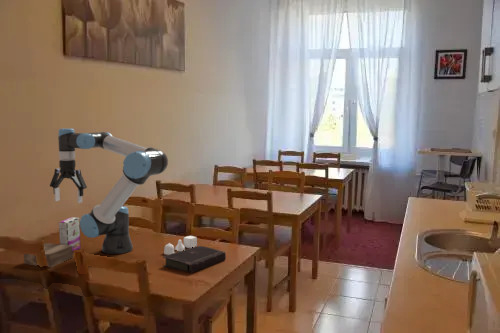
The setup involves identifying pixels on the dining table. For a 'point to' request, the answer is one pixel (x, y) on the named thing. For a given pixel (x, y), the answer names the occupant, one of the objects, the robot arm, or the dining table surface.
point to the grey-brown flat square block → (52, 254)
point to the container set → (181, 245)
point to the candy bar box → (70, 233)
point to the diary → (194, 259)
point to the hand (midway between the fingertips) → (68, 201)
